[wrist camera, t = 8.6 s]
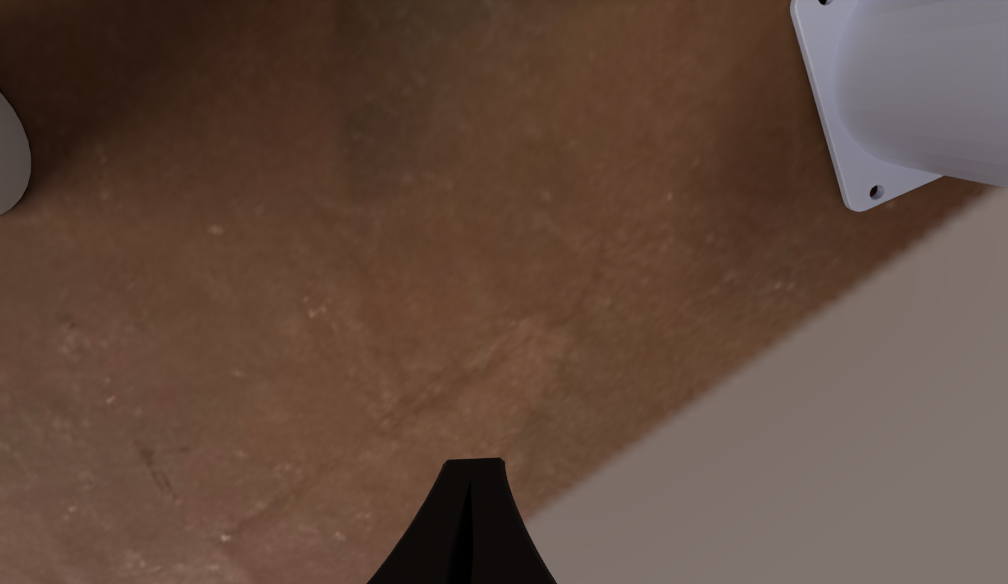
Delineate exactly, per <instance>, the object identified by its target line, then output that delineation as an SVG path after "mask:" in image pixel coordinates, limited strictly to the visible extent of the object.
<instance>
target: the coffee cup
mask: <svg viewBox="0 0 1008 584" xmlns="http://www.w3.org/2000/svg"><path fill="white" fill-rule="evenodd" d="M30 174H31V153H30V148H29V143H28V139H27V136H26V134H25V131H24V129H23V126H22V123H21V122H20V120H19V118H18V117H17V115H16V113H15V111H14V110H13V108H12V106H11V105H10V104H9V103H8V101H7V100H6V99H5V98H4V96H3V95H2V94H1V92H0V215H1V214H3V213H4V212H6V211H8V210H9V209H11V208H12V207H13V206H14V205H15V204H16V203H17V202H18V201H19V200H20V199H21V197H22V195H23V193H24V191H25V190H26V188H27V186H28V182H29V178H30Z"/></svg>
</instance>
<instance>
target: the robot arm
mask: <svg viewBox="0 0 1008 584" xmlns="http://www.w3.org/2000/svg"><path fill="white" fill-rule="evenodd" d="M790 13H791V17H792V20H793V24H794V27H795V31H796V34H797V38H798V41H799V45H800V49H801V52H802V56H803V59H804V63H805V66H806V70H807V73H808V77H809V81H810V84H811V88H812V91H813V95H814V98H815V102H816V105H817V109H818V112H819V116H820V120H821V123H822V127H823V130H824V134H825V137H826V141H827V144H828V148H829V152H830V155H831V159H832V162H833V166H834V169H835V173H836V176H837V180H838V183H839V187H840V191H841V194H842V198H843V201H844V204H845V206H846V207H847V208H849V209H850V210H853V211H858V212H862V211H866V210H868V209H870V208H872V207H875V206H877V205H879V204H881V203H884V202H886V201H888V200H890V199H893V198H895V197H897V196H899V195H902V194H904V193H906V192H908V191H911V190H913V189H915V188H917V187H920V186H922V185H924V184H926V183H929V182H931V181H933V180H935V179H938V178H940V177H942V176H944V175H945V176H950V177H955V178H960V179H965V180H970V181H975V182H980V183H985V184H990V185H995V186H1000V187H1005V188H1008V0H827V1H826V3H825V4H824V5H822V4H820V3H819V1H818V0H792V1H791V5H790ZM876 185H877V187H878V188H877V192H876V194H875V195H874V196H872V197H870V191H871V189H872V188H873V187H874V186H876ZM367 584H557V583H556V581H555V580H554V578H553V577H552V575H551V573H550V572H549V570H548V569H547V567H546V565H545V563H544V562H543V560H542V558H541V556H540V555H539V553H538V551H537V549H536V547H535V545H534V544H533V541H532V540H531V538H530V536H529V534H528V531H527V529H526V527H525V525H524V523H523V521H522V518H521V516H520V514H519V511H518V509H517V507H516V504H515V501H514V499H513V496H512V493H511V490H510V487H509V483H508V480H507V476H506V470H505V461H503V460H502V459H501V458H479V459H456V460H447V461H446V462H445V463H444V464H443V466H442V469H441V471H440V473H439V475H438V477H437V479H436V481H435V483H434V485H433V487H432V489H431V491H430V493H429V494H428V496H427V498H426V500H425V502H424V503H423V505H422V506H421V508H420V510H419V511H418V513H417V515H416V516H415V518H414V520H413V521H412V523H411V524H410V526H409V528H408V529H407V531H406V532H405V533H404V535H403V536H402V538H401V539H400V541H399V542H398V543H397V545H396V546H395V548H394V549H393V551H392V552H391V553H390V555H389V556H388V558H387V559H386V560H385V561H384V563H383V564H382V565H381V567H380V568H379V569H378V570H377V572H376V573H375V574H374V575H373V577H372V578H371V579H370V580H369V581H368V583H367Z"/></svg>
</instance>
